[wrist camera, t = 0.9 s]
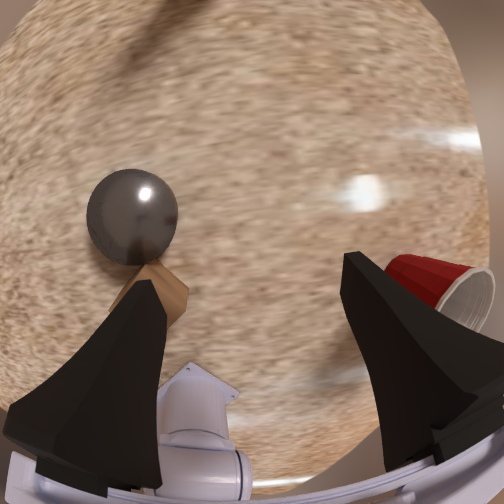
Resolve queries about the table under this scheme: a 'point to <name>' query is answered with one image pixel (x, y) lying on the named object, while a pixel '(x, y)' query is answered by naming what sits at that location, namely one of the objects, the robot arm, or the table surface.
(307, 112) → the table surface
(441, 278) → the plastic cup
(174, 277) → the walnut block
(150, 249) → the grey metal cylinder
